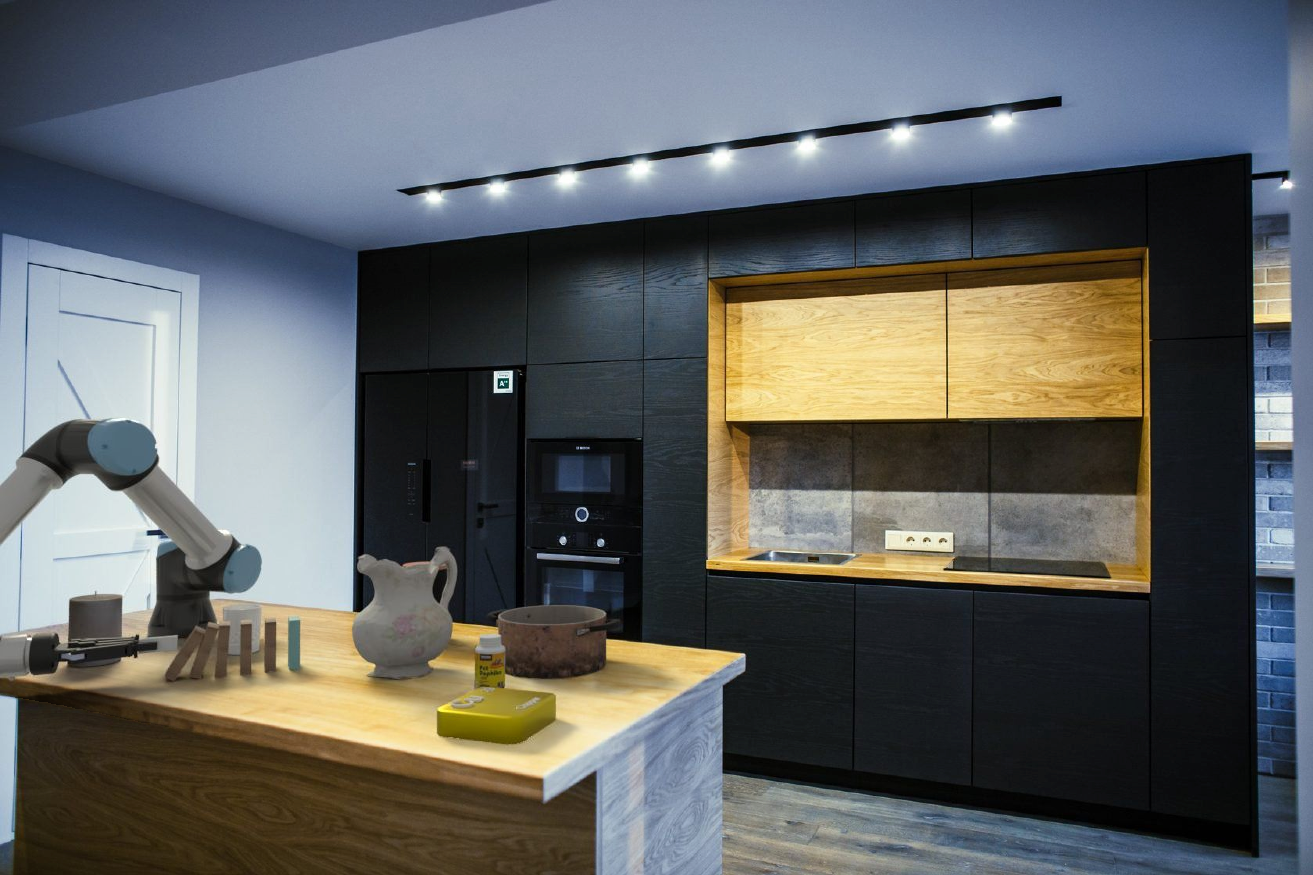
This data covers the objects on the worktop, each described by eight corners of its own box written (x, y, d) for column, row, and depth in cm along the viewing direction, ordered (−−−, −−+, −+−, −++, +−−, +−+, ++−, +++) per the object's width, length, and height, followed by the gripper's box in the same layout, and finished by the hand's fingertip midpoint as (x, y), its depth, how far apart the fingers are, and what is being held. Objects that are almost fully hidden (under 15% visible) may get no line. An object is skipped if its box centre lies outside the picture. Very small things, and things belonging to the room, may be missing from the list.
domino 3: (215, 671, 175) (219, 621, 175) (226, 670, 176) (230, 621, 176) (214, 676, 170) (218, 625, 171) (226, 676, 171) (230, 625, 172)
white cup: (268, 648, 196) (269, 603, 196) (248, 656, 188) (249, 610, 188) (235, 647, 197) (236, 603, 197) (214, 655, 189) (215, 609, 189)
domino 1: (166, 671, 171) (196, 625, 173) (175, 675, 172) (205, 629, 174) (164, 677, 166) (195, 629, 169) (174, 681, 167) (204, 634, 170)
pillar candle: (57, 664, 181) (58, 592, 181) (105, 654, 190) (106, 586, 190) (84, 669, 176) (85, 595, 177) (132, 659, 185) (133, 589, 185)
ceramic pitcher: (416, 660, 189) (410, 546, 190) (483, 664, 179) (476, 543, 181) (333, 683, 170) (327, 556, 172) (403, 688, 161) (396, 554, 162)
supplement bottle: (474, 696, 157) (475, 639, 157) (474, 688, 162) (474, 633, 162) (506, 694, 158) (506, 638, 158) (504, 686, 163) (504, 631, 164)
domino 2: (190, 671, 173) (208, 621, 174) (201, 673, 174) (219, 624, 175) (189, 676, 168) (207, 626, 170) (200, 678, 169) (218, 628, 171)
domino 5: (264, 666, 179) (264, 618, 179) (274, 665, 179) (275, 617, 180) (265, 672, 174) (265, 622, 174) (275, 671, 175) (276, 621, 175)
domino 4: (240, 669, 177) (240, 620, 177) (250, 668, 177) (251, 619, 178) (240, 674, 172) (240, 624, 172) (251, 673, 173) (251, 623, 173)
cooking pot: (640, 661, 184) (640, 611, 184) (588, 687, 164) (588, 630, 164) (522, 648, 196) (522, 601, 197) (460, 670, 176) (460, 617, 177)
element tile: (517, 747, 130) (517, 715, 130) (431, 737, 135) (431, 706, 135) (560, 719, 144) (560, 690, 144) (480, 710, 149) (480, 682, 149)
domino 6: (287, 664, 181) (288, 616, 181) (298, 663, 181) (298, 615, 182) (289, 670, 176) (289, 620, 176) (299, 668, 177) (300, 619, 177)
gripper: (38, 667, 165) (179, 655, 175) (22, 683, 153) (175, 669, 164) (38, 627, 165) (179, 617, 176) (23, 641, 154) (175, 629, 164)
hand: (177, 642), depth 170 cm, fingers closed
